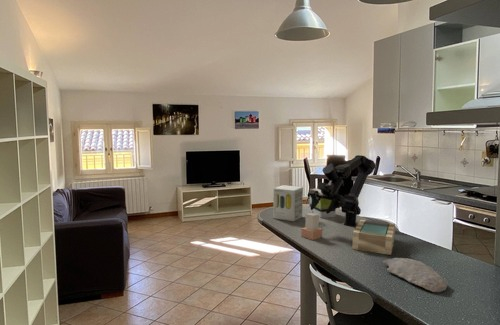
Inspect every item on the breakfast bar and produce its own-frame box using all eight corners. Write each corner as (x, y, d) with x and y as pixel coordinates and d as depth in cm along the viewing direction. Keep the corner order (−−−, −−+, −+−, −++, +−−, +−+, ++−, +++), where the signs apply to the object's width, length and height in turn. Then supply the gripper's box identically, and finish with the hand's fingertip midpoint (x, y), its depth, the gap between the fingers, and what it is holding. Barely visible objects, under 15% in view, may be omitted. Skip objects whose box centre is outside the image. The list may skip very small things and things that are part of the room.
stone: (374, 267, 135) (423, 297, 111) (374, 253, 135) (424, 280, 111) (408, 261, 140) (463, 289, 116) (408, 248, 139) (463, 273, 115)
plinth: (310, 233, 174) (310, 225, 173) (322, 237, 169) (322, 228, 168) (301, 236, 169) (301, 228, 169) (312, 240, 164) (313, 231, 164)
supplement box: (272, 218, 202) (273, 188, 200) (281, 213, 213) (282, 184, 211) (294, 221, 195) (295, 190, 194) (302, 216, 207) (303, 186, 205)
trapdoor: (365, 225, 169) (366, 219, 169) (388, 228, 165) (388, 222, 165) (360, 235, 153) (360, 229, 153) (385, 239, 149) (385, 232, 149)
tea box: (308, 212, 218) (309, 188, 216) (323, 211, 221) (323, 187, 219) (320, 218, 203) (321, 192, 202) (335, 217, 206) (336, 192, 205)
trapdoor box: (359, 234, 174) (360, 219, 173) (394, 239, 167) (395, 223, 166) (352, 248, 153) (353, 232, 152) (391, 254, 146) (392, 237, 145)
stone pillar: (311, 226, 172) (311, 212, 171) (318, 228, 168) (318, 214, 168) (305, 228, 169) (305, 213, 168) (312, 230, 165) (313, 215, 165)
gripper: (311, 174, 180) (296, 198, 173) (343, 178, 166) (328, 204, 160) (320, 187, 186) (306, 211, 180) (351, 193, 172) (337, 219, 166)
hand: (318, 211), depth 171 cm, fingers open, 9 cm apart
